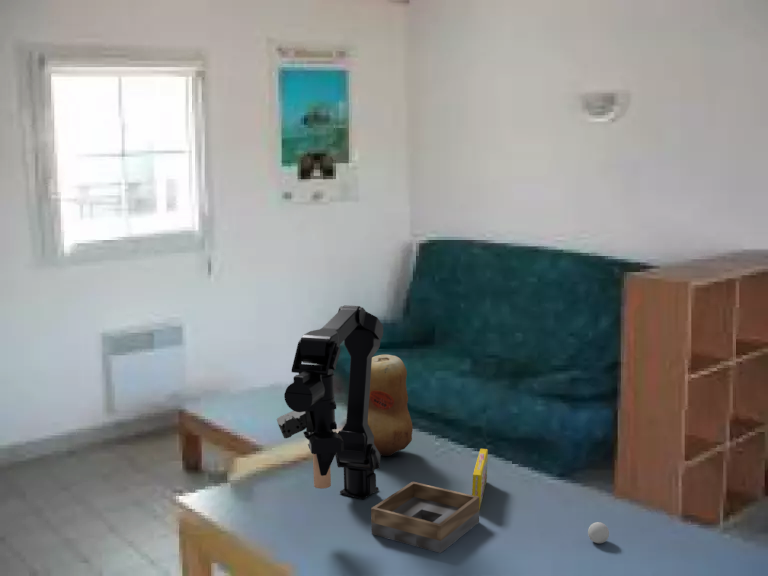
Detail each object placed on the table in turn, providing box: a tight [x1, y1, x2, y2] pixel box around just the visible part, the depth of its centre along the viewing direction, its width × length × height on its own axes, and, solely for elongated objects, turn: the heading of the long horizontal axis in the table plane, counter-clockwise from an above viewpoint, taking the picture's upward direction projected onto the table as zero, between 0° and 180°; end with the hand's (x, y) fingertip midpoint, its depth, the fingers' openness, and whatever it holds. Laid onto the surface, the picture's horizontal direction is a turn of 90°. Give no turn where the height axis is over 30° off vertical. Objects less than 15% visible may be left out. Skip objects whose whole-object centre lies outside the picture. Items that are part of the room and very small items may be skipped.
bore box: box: [370, 481, 480, 554], centre depth 185 cm, size 16×16×6 cm
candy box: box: [471, 448, 489, 511], centre depth 200 cm, size 16×2×8 cm, turn 168°
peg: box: [312, 454, 332, 489], centre depth 182 cm, size 3×3×8 cm
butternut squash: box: [368, 354, 414, 457], centre depth 225 cm, size 14×13×25 cm
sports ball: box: [587, 521, 610, 544], centre depth 178 cm, size 4×4×4 cm
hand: (322, 471), depth 182 cm, fingers closed on peg, 3 cm apart
